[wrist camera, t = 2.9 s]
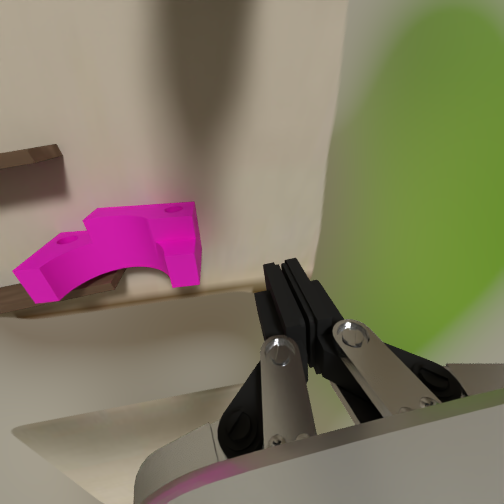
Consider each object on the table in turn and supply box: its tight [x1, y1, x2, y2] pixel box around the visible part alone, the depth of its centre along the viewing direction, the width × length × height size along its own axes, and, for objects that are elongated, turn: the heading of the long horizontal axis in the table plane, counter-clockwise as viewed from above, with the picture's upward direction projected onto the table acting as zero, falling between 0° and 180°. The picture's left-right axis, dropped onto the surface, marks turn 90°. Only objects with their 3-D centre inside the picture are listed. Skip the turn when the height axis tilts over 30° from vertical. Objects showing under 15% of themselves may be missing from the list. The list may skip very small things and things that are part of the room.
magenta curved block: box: [12, 202, 202, 304], centre depth 23 cm, size 15×6×8 cm, turn 91°
